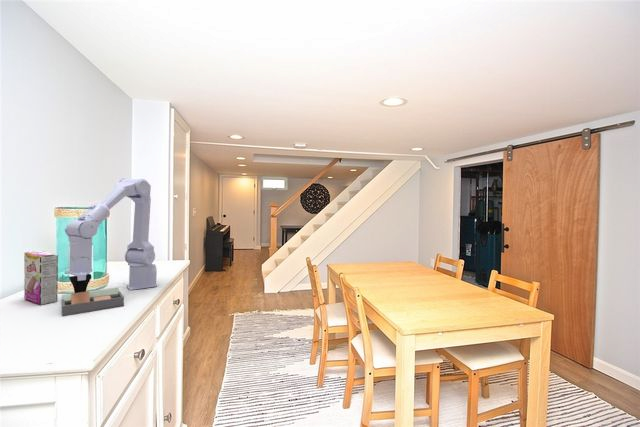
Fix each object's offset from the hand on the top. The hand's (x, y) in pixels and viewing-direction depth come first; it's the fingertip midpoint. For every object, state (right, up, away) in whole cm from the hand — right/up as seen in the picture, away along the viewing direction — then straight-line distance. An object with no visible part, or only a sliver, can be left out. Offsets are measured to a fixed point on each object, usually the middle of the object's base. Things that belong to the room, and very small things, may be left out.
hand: (80, 297), depth 97 cm
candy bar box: (-16, -2, +3) cm, 17 cm away
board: (-1, -3, +6) cm, 7 cm away
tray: (+5, -3, -1) cm, 6 cm away
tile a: (+6, -3, +1) cm, 7 cm away
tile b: (+1, -1, -2) cm, 2 cm away
